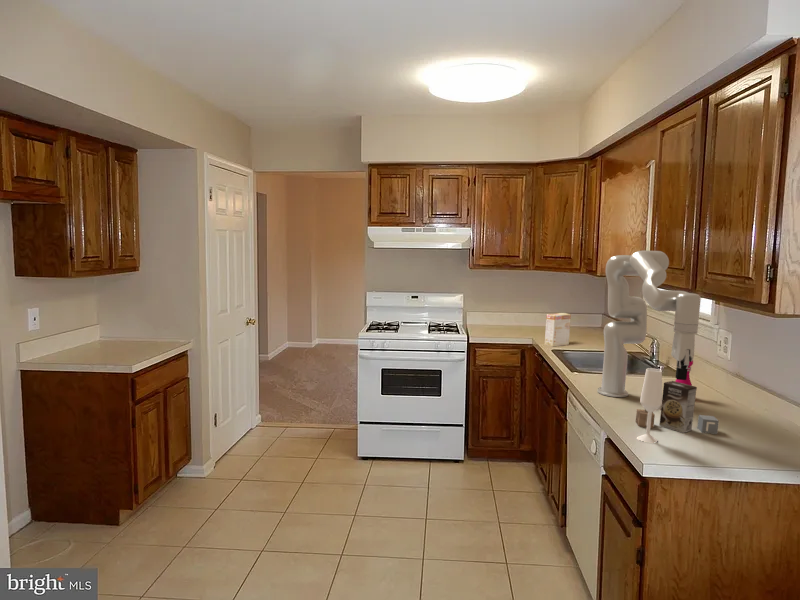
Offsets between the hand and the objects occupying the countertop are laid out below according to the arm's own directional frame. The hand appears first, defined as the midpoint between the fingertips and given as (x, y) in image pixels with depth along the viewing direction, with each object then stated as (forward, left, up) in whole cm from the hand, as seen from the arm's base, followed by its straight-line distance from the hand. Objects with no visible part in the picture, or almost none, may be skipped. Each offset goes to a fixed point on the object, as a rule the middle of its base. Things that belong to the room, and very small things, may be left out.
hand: (680, 379), depth 198 cm
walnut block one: (0, -11, -18) cm, 21 cm away
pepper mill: (-44, +14, -18) cm, 50 cm away
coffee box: (0, 0, -18) cm, 18 cm away
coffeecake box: (-146, -31, -18) cm, 150 cm away
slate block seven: (0, +10, -18) cm, 21 cm away
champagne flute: (+16, -13, -18) cm, 27 cm away
